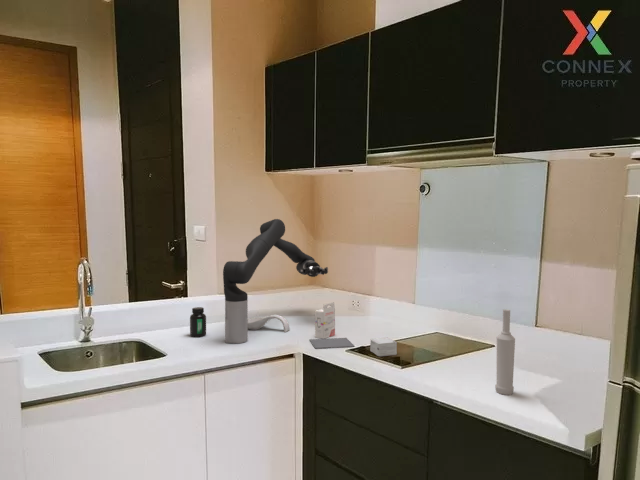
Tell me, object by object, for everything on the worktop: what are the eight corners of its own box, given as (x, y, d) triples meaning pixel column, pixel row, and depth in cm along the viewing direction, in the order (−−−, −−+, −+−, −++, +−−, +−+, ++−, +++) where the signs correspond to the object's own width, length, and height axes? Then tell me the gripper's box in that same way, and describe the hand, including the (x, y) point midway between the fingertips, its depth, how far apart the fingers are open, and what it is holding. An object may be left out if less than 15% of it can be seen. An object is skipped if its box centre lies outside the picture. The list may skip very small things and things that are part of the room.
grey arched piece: (235, 330, 223) (235, 314, 223) (247, 324, 234) (247, 310, 234) (282, 334, 215) (282, 318, 215) (293, 328, 226) (293, 313, 226)
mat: (315, 349, 192) (315, 347, 192) (309, 340, 205) (309, 339, 205) (354, 347, 195) (354, 345, 195) (346, 338, 208) (346, 337, 208)
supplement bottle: (203, 337, 208) (202, 309, 208) (187, 337, 209) (187, 309, 208) (208, 333, 215) (208, 306, 215) (193, 333, 216) (193, 306, 215)
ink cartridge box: (326, 333, 217) (326, 300, 217) (335, 335, 214) (335, 302, 214) (314, 337, 211) (314, 303, 210) (323, 339, 208) (323, 304, 207)
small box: (369, 351, 190) (369, 338, 190) (387, 349, 193) (388, 336, 192) (378, 357, 183) (378, 343, 182) (397, 355, 185) (397, 341, 185)
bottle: (510, 389, 149) (512, 308, 148) (516, 395, 144) (518, 311, 143) (493, 388, 150) (495, 308, 148) (498, 394, 145) (500, 311, 143)
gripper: (297, 261, 241) (303, 264, 224) (325, 260, 244) (333, 264, 227) (297, 276, 241) (303, 280, 225) (325, 275, 244) (333, 280, 227)
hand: (318, 272), depth 226 cm, fingers open, 4 cm apart
